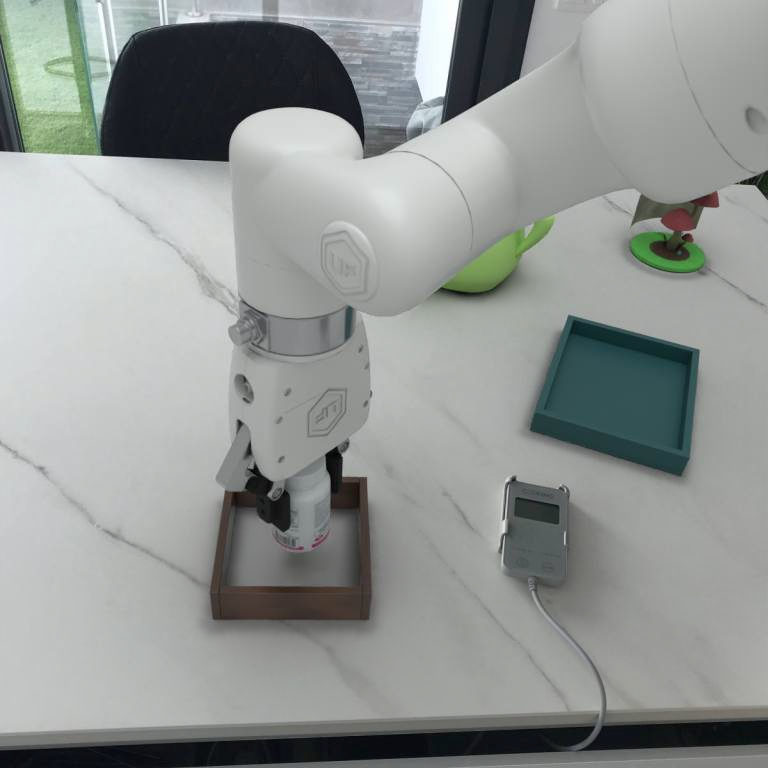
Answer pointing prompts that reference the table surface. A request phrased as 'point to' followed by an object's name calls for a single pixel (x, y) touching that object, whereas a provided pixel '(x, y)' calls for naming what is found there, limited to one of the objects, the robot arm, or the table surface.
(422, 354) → the table surface
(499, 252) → the teapot
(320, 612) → the square wooden frame
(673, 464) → the tray
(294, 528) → the pill bottle
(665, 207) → the mushroom figurine
